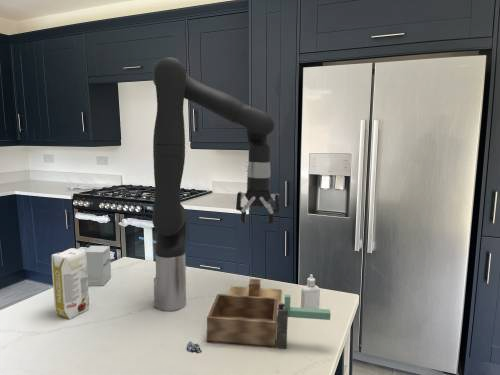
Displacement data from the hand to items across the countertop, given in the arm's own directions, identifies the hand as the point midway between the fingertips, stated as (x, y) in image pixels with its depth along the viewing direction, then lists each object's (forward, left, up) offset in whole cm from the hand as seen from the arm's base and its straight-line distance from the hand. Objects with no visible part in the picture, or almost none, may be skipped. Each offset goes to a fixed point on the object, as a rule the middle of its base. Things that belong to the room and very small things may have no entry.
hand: (257, 223), depth 122 cm
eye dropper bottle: (+18, -10, -25) cm, 32 cm away
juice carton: (-54, -21, -25) cm, 63 cm away
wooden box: (0, -24, -25) cm, 34 cm away
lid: (0, -4, -26) cm, 26 cm away
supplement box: (-58, +1, -25) cm, 63 cm away
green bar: (+16, -29, -17) cm, 37 cm away
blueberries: (-12, -34, -26) cm, 44 cm away
